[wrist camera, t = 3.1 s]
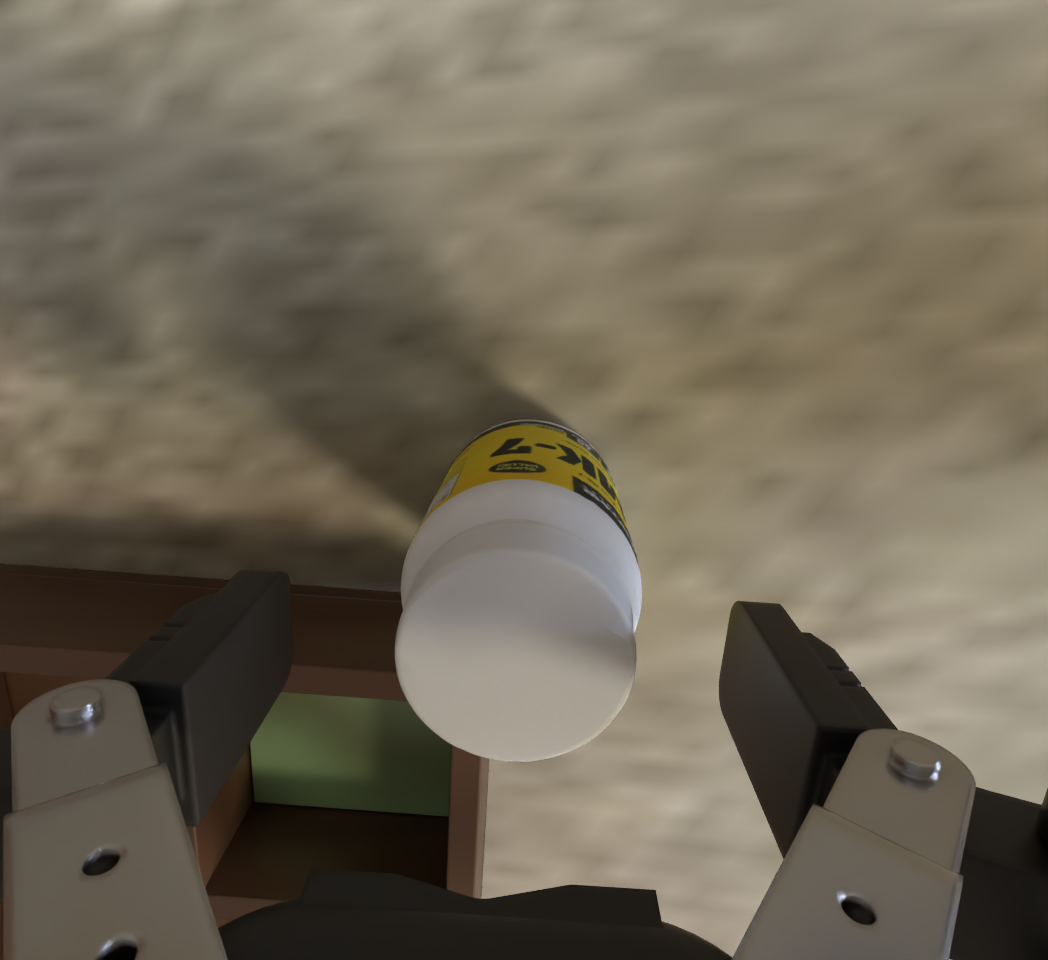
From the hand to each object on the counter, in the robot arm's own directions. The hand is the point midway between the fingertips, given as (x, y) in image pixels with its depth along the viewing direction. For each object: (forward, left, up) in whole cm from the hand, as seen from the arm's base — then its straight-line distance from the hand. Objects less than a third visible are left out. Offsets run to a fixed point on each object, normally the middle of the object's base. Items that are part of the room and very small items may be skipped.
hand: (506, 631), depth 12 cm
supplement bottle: (0, 0, -7) cm, 7 cm away
